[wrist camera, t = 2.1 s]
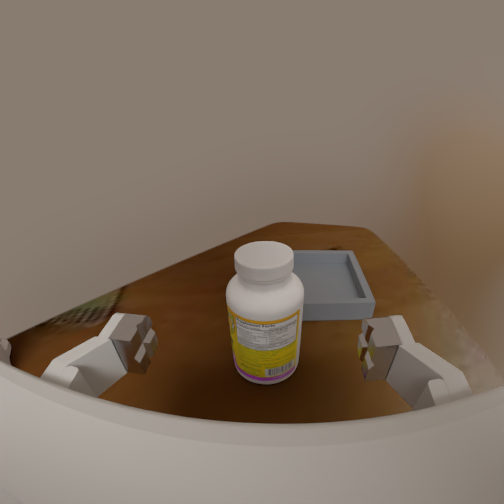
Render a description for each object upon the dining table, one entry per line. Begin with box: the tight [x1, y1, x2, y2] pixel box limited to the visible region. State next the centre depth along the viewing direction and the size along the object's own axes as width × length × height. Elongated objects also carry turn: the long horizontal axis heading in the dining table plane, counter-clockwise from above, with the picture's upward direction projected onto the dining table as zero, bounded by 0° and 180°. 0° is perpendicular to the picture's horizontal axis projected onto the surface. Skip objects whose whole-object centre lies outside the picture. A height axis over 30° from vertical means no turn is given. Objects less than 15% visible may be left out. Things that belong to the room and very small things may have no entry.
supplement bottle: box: [226, 241, 304, 384], centre depth 25 cm, size 7×7×13 cm
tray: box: [292, 250, 376, 321], centre depth 40 cm, size 14×14×3 cm
